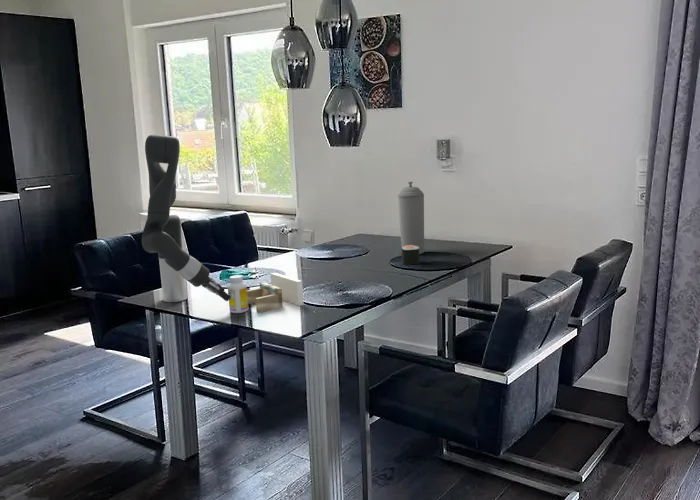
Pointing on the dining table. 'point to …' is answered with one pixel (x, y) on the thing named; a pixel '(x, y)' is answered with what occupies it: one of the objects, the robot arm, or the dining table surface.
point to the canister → (412, 217)
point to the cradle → (265, 297)
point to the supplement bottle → (237, 294)
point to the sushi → (410, 255)
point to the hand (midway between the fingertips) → (228, 298)
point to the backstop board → (288, 288)
